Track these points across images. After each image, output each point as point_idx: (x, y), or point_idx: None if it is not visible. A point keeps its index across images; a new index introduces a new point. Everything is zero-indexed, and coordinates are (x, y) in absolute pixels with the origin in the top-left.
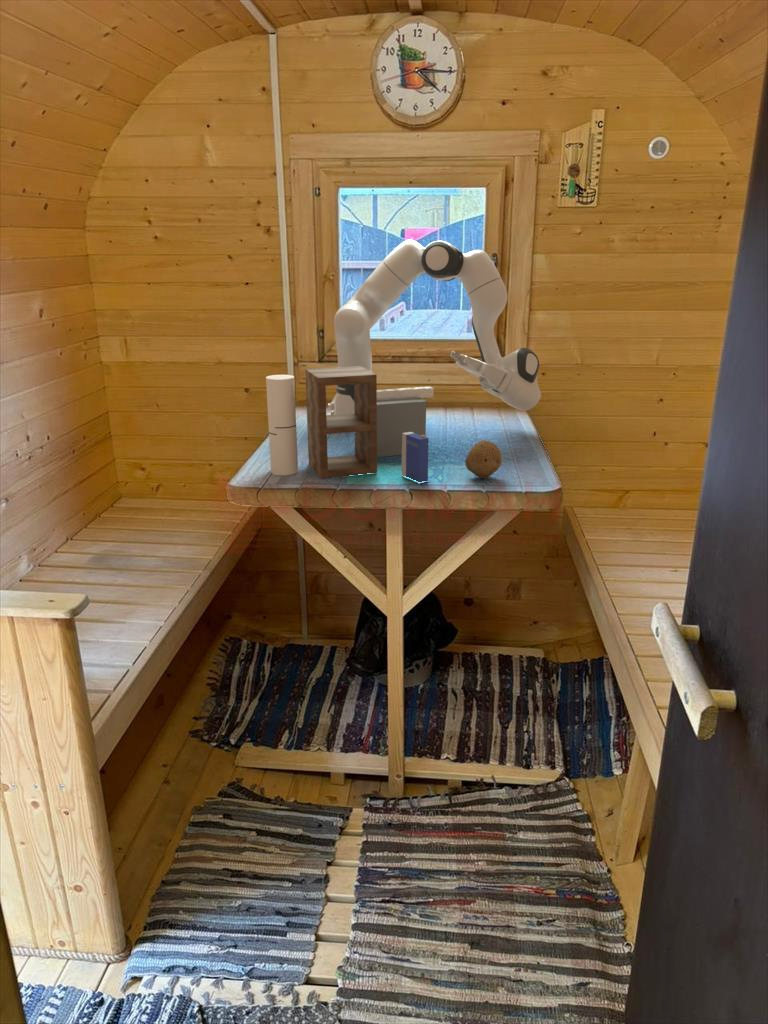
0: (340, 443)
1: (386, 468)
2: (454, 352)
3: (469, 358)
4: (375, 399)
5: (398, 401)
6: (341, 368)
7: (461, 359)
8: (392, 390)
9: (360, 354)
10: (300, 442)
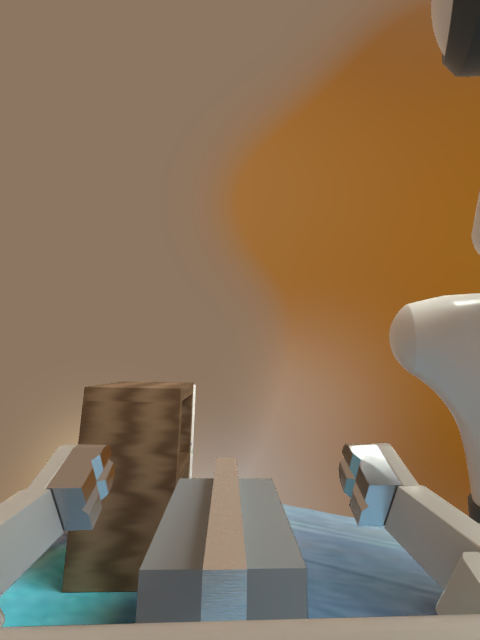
0: (309, 584)
1: (75, 620)
2: (345, 451)
3: (49, 468)
4: (80, 432)
5: (184, 513)
6: (173, 385)
7: (455, 602)
8: (216, 481)
9: (469, 421)
10: (318, 534)
